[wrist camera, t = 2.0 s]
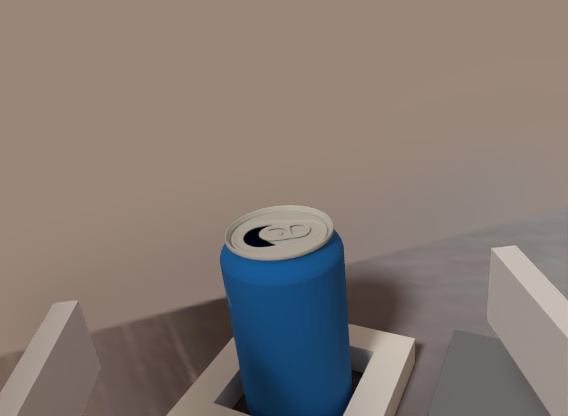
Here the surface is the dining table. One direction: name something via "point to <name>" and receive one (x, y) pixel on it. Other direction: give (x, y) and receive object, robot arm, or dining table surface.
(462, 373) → the coaster
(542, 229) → the dining table surface
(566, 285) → the dining table surface
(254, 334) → the beverage can
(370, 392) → the can holder
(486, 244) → the dining table surface
